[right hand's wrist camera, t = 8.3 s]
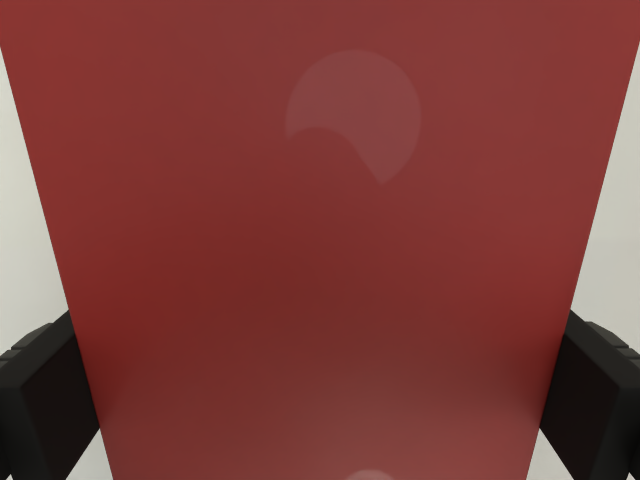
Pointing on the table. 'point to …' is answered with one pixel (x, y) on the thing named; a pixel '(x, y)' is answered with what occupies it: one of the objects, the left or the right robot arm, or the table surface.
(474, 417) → the cabinet
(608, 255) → the table surface
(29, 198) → the table surface
